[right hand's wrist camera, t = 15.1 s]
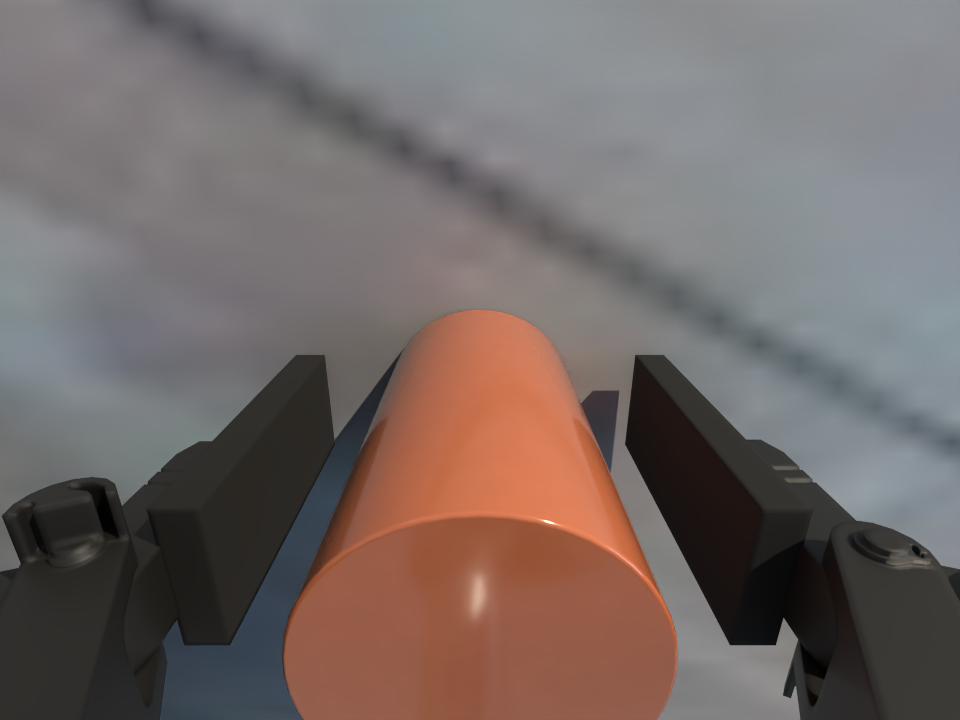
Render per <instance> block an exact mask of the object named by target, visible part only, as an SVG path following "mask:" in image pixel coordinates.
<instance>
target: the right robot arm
mask: <svg viewBox="0 0 960 720" xmlns="http://www.w3.org/2000/svg"><path fill="white" fill-rule="evenodd" d="M334 445H335V442H334V433H333V424H332V416H331V407H330V398H329V390H328V381H327V372H326V364H325V355H296V356H295V357H294V358H293V359H292V360H291V361H290V362H289V363H288V364H287V365H286V366H285V367H284V368H283V369H282V370H281V371H280V372H279V373H278V374H277V375H276V376H275V377H274V378H273V380H272V381H271V382H270V383H269V384H268V385H267V386H266V387H265V388H264V389H263V390H262V391H261V392H260V393H259V394H258V395H257V396H256V397H255V398H254V399H253V400H252V401H251V402H250V403H249V404H248V405H247V406H246V407H245V408H244V409H243V410H242V411H241V412H240V413H239V414H238V415H237V416H236V417H235V419H234V420H233V421H232V422H231V423H230V424H229V425H228V426H227V427H226V428H225V429H224V430H223V431H222V432H221V433H220V434H219V435H218V436H217V437H216V438H215V439H214V440H213V441H200V442H198V443H196V444H194V445H192V446H191V447H189V448H187V449H185V450H183V451H182V452H180V453H178V454H176V455H175V456H174V457H173V458H172V459H171V460H170V461H169V462H168V463H167V464H166V465H165V466H164V467H163V468H162V469H161V472H157V473H156V474H155V475H154V476H153V477H152V478H151V479H150V480H149V481H148V485H144V486H143V487H142V488H141V489H139V490H138V491H137V492H136V493H135V494H134V495H133V496H132V497H131V498H130V499H129V500H128V501H127V502H126V503H125V504H124V505H123V506H121V502H120V499H119V496H118V492H117V489H116V486H115V484H114V483H113V482H111V481H109V480H108V479H104V478H94V477H90V478H81V479H73V480H69V481H65V482H62V483H58V484H54V485H51V486H49V487H46V488H44V489H41V490H39V491H37V492H34V493H32V494H30V495H28V496H26V497H25V498H23V499H22V500H20V501H18V502H17V503H15V504H13V505H12V506H11V507H10V508H9V509H8V510H7V511H6V512H5V513H4V514H3V515H2V518H3V520H4V523H5V525H6V528H7V530H8V533H9V535H10V538H11V540H12V543H13V545H14V547H15V550H16V552H17V555H18V557H19V560H20V562H21V564H20V566H19V568H16V569H12V570H7V571H2V572H0V720H160V713H161V705H162V697H163V689H164V681H165V673H166V666H167V659H166V653H165V649H164V646H163V642H162V641H163V639H164V638H165V636H166V635H167V633H168V632H169V630H170V629H171V627H172V626H173V624H174V623H175V621H176V620H177V621H178V624H179V628H180V631H181V635H182V639H183V642H184V645H230V644H231V642H232V640H233V638H234V636H235V634H236V632H237V630H238V629H239V627H240V625H241V623H242V621H243V619H244V617H245V615H246V613H247V611H248V609H249V607H250V606H251V604H252V602H253V600H254V598H255V596H256V594H257V592H258V590H259V588H260V586H261V585H262V583H263V581H264V579H265V577H266V575H267V573H268V571H269V569H270V567H271V565H272V563H273V562H274V560H275V558H276V556H277V554H278V552H279V550H280V548H281V546H282V544H283V542H284V541H285V539H286V537H287V535H288V533H289V531H290V529H291V527H292V525H293V523H294V521H295V519H296V518H297V516H298V514H299V512H300V510H301V508H302V506H303V504H304V502H305V500H306V498H307V497H308V495H309V493H310V491H311V489H312V487H313V485H314V483H315V481H316V479H317V477H318V475H319V474H320V472H321V470H322V468H323V466H324V464H325V462H326V460H327V458H328V456H329V454H330V452H331V451H332V449H333V447H334ZM625 445H626V447H627V449H628V451H629V453H630V454H631V456H632V458H633V460H634V462H635V464H636V466H637V468H638V470H639V472H640V474H641V475H642V477H643V479H644V481H645V483H646V485H647V487H648V489H649V491H650V493H651V495H652V497H653V498H654V500H655V502H656V504H657V506H658V508H659V510H660V512H661V514H662V516H663V518H664V519H665V521H666V523H667V525H668V527H669V529H670V531H671V533H672V535H673V537H674V539H675V541H676V542H677V544H678V546H679V548H680V550H681V552H682V554H683V556H684V558H685V560H686V562H687V563H688V565H689V567H690V569H691V571H692V573H693V575H694V577H695V579H696V581H697V583H698V585H699V586H700V588H701V590H702V592H703V594H704V596H705V598H706V600H707V602H708V604H709V606H710V607H711V609H712V611H713V613H714V615H715V617H716V619H717V621H718V623H719V625H720V627H721V629H722V630H723V632H724V634H725V636H726V638H727V640H728V642H729V644H730V645H776V642H777V639H778V635H779V631H780V628H781V624H782V621H783V617H784V619H785V620H786V622H787V623H788V625H789V626H790V628H791V629H792V631H793V632H794V634H795V635H796V637H797V638H798V642H797V646H796V649H795V652H794V656H793V659H792V662H791V666H790V669H789V672H788V676H787V679H786V682H785V687H784V693H783V696H786V697H789V698H791V696H792V693H793V690H794V687H795V686H796V687H797V695H798V703H799V711H800V719H801V720H960V569H955V568H950V567H946V566H941V565H940V563H939V562H938V561H937V560H936V558H935V557H934V556H933V555H932V554H931V552H930V551H929V550H927V549H926V548H925V547H923V546H922V545H920V544H919V543H918V542H916V541H915V540H913V539H912V538H910V537H908V536H906V535H904V534H902V533H899V532H897V531H895V530H893V529H890V528H887V527H884V526H881V525H877V524H874V523H869V522H861V521H856V520H855V519H854V518H853V517H852V516H851V515H850V514H849V513H848V512H846V511H845V510H844V509H843V508H842V507H841V506H840V505H839V504H838V503H837V502H836V501H835V500H834V499H833V498H832V497H831V496H829V495H828V494H827V493H826V492H825V491H824V490H823V489H822V488H821V487H820V486H819V485H818V484H817V483H813V481H812V479H811V478H810V477H809V476H808V475H807V474H806V473H805V472H804V471H803V470H800V469H799V466H798V465H797V464H795V463H794V462H793V461H792V460H791V459H790V458H789V457H788V456H787V455H786V454H785V453H784V452H782V451H780V450H778V449H777V448H775V447H773V446H771V445H769V444H767V443H766V442H764V441H762V440H746V439H745V438H744V437H743V436H742V435H741V434H740V433H739V432H738V431H737V430H736V429H735V428H734V427H733V426H732V425H731V424H730V423H729V422H728V421H727V420H726V419H725V418H724V416H723V415H722V414H721V413H720V412H719V411H718V410H717V409H716V408H715V407H714V406H713V405H712V404H711V403H710V402H709V401H708V400H707V399H706V398H705V397H704V396H703V395H702V394H701V393H700V392H699V391H698V390H697V389H696V388H695V387H694V386H693V385H692V384H691V383H690V382H689V381H688V380H687V378H686V377H685V376H684V375H683V374H682V373H681V372H680V371H679V370H678V369H677V368H676V367H675V366H674V365H673V364H672V363H671V362H670V361H669V360H668V359H667V358H666V357H665V356H664V355H635V364H634V372H633V381H632V390H631V398H630V407H629V416H628V424H627V433H626V442H625Z"/></svg>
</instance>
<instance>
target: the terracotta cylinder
mask: <svg viewBox="0 0 960 720" xmlns="http://www.w3.org/2000/svg"><path fill="white" fill-rule="evenodd" d="M677 661H678V647H677V635H676V632H675V628H674V624H673V621H672V617H671V614H670V612H669V609H668V607H667V605H666V602H665V600H664V598H663V595H662V593H661V591H660V588H659V586H658V584H657V581H656V579H655V577H654V574H653V572H652V570H651V567H650V565H649V562H648V560H647V558H646V555H645V553H644V551H643V548H642V546H641V544H640V541H639V539H638V537H637V534H636V532H635V530H634V527H633V525H632V523H631V520H630V518H629V515H628V513H627V511H626V508H625V506H624V504H623V501H622V499H621V497H620V494H619V492H618V490H617V487H616V485H615V483H614V480H613V478H612V476H611V473H610V471H609V469H608V466H607V464H606V461H605V459H604V457H603V454H602V452H601V450H600V447H599V445H598V443H597V440H596V438H595V436H594V433H593V431H592V429H591V426H590V424H589V422H588V419H587V417H586V414H585V412H584V410H583V407H582V405H581V403H580V400H579V398H578V396H577V393H576V391H575V389H574V386H573V384H572V382H571V379H570V377H569V375H568V372H567V370H566V367H565V365H564V363H563V361H562V359H561V356H560V354H559V353H558V351H557V350H556V348H555V347H554V345H553V344H552V343H551V342H550V340H549V339H548V338H547V337H546V336H545V335H544V334H543V333H542V332H540V331H539V330H538V329H537V328H535V327H534V326H532V325H531V324H529V323H528V322H526V321H524V320H522V319H520V318H518V317H515V316H512V315H509V314H506V313H502V312H497V311H491V310H468V311H463V312H458V313H454V314H451V315H448V316H445V317H442V318H440V319H438V320H436V321H434V322H432V323H431V324H429V325H428V326H426V327H425V328H423V329H422V330H421V331H420V332H418V333H417V334H416V335H415V336H414V337H413V338H412V339H411V340H410V342H409V343H408V344H407V345H406V347H405V348H404V350H403V351H402V353H401V354H400V356H399V359H398V361H397V363H396V365H395V367H394V370H393V372H392V374H391V377H390V379H389V381H388V384H387V386H386V389H385V391H384V393H383V396H382V398H381V400H380V403H379V405H378V407H377V410H376V412H375V414H374V417H373V419H372V421H371V424H370V426H369V428H368V431H367V433H366V436H365V438H364V440H363V443H362V445H361V447H360V450H359V452H358V454H357V457H356V459H355V461H354V464H353V466H352V468H351V471H350V473H349V475H348V478H347V480H346V482H345V485H344V487H343V490H342V492H341V494H340V497H339V499H338V501H337V504H336V506H335V508H334V511H333V513H332V515H331V518H330V520H329V522H328V525H327V527H326V529H325V532H324V534H323V537H322V539H321V541H320V544H319V546H318V548H317V551H316V553H315V555H314V558H313V560H312V562H311V565H310V567H309V569H308V572H307V574H306V576H305V579H304V581H303V583H302V586H301V588H300V591H299V593H298V595H297V598H296V600H295V602H294V605H293V607H292V609H291V612H290V614H289V617H288V620H287V624H286V628H285V631H284V635H283V647H282V662H283V672H284V678H285V682H286V685H287V689H288V692H289V695H290V697H291V699H292V701H293V704H294V706H295V708H296V710H297V712H298V713H299V715H300V716H301V718H302V719H303V720H657V719H658V718H659V716H660V715H661V713H662V712H663V710H664V708H665V706H666V703H667V701H668V699H669V697H670V695H671V692H672V688H673V685H674V681H675V678H676V671H677Z"/></svg>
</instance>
